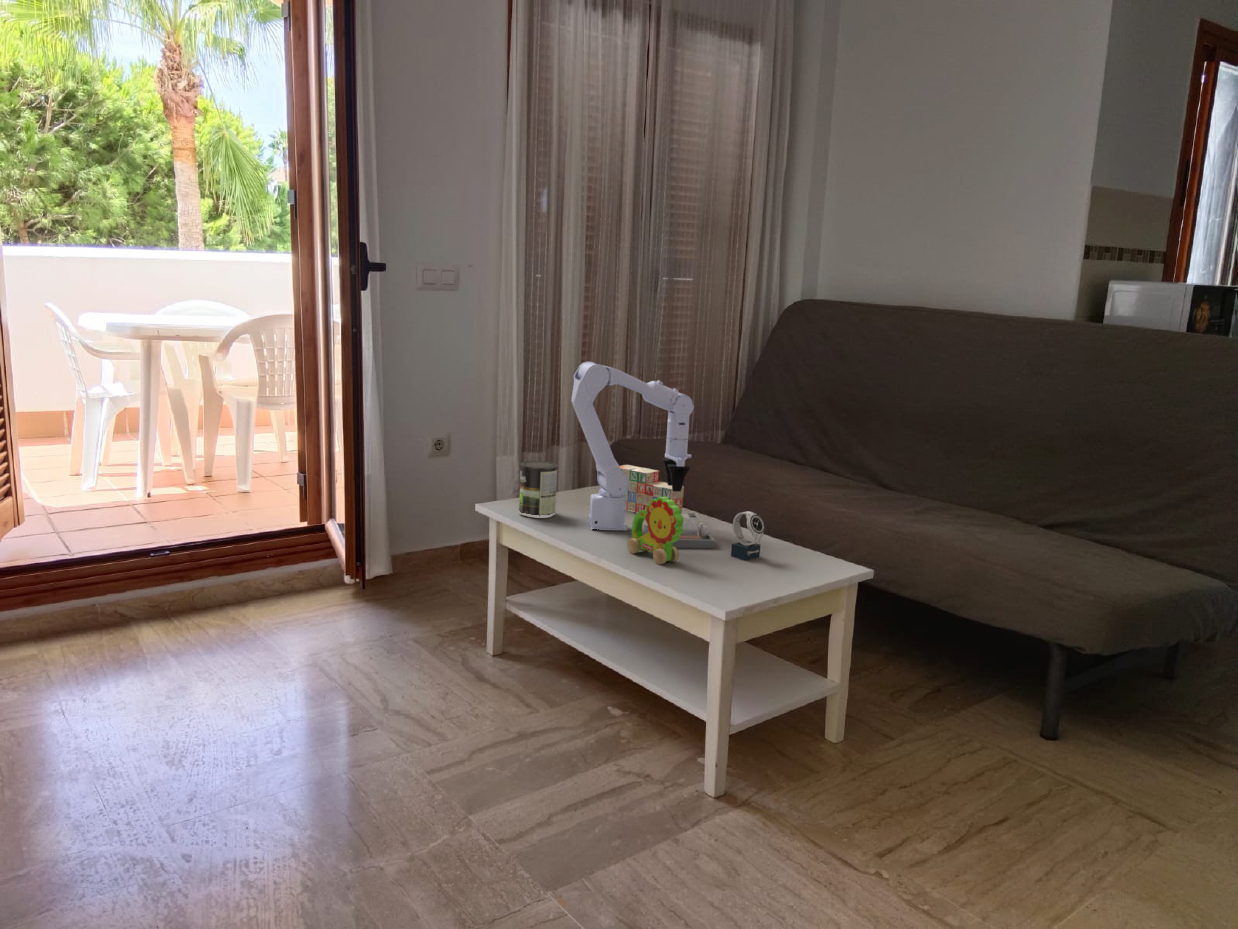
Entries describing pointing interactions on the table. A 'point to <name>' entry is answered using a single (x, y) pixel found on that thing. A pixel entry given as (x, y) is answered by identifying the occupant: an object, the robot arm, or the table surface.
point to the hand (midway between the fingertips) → (674, 488)
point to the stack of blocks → (647, 488)
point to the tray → (693, 539)
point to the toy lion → (658, 530)
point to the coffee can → (538, 487)
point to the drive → (690, 525)
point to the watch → (743, 547)
